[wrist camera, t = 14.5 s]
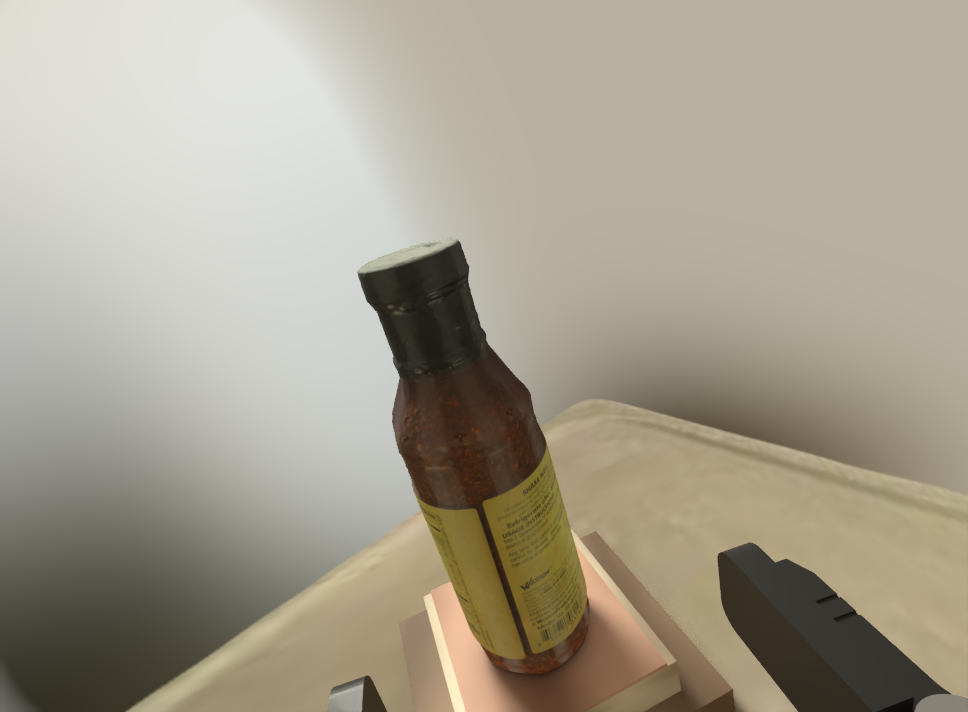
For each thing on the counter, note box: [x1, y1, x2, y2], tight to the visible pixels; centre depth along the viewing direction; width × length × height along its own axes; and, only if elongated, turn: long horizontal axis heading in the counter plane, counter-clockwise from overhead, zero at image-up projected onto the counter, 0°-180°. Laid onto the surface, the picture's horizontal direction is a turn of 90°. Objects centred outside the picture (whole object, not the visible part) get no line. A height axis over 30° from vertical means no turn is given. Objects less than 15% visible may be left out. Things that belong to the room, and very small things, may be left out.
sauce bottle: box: [358, 238, 590, 675], centre depth 22 cm, size 6×6×20 cm
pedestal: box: [399, 529, 735, 712], centre depth 26 cm, size 14×12×4 cm
